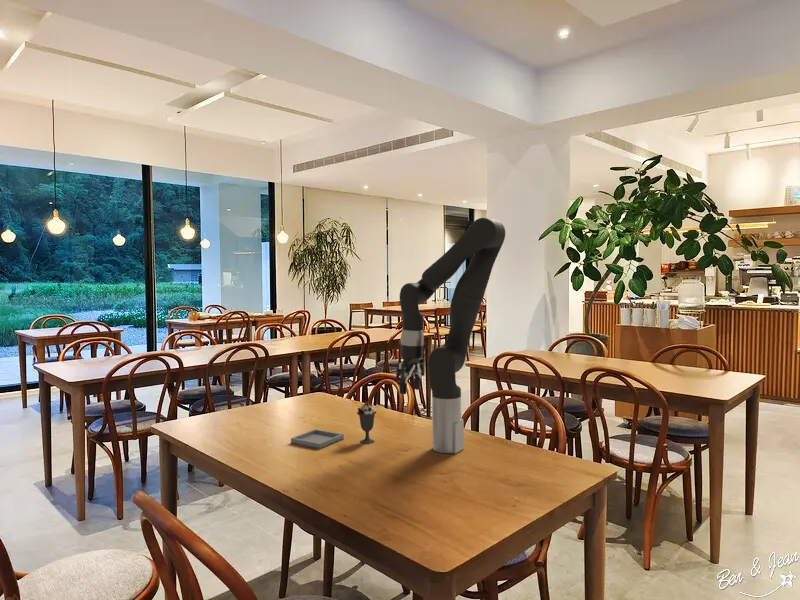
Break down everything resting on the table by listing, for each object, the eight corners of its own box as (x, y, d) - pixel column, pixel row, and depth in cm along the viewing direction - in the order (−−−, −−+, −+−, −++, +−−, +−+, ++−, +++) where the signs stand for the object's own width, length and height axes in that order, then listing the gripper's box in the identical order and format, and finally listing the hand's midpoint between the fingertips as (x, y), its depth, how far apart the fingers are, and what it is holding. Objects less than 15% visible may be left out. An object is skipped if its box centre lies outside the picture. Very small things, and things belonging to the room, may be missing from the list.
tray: (343, 439, 187) (343, 434, 187) (319, 449, 176) (319, 443, 176) (315, 434, 193) (315, 429, 193) (290, 443, 182) (290, 438, 182)
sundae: (378, 438, 187) (377, 395, 186) (375, 445, 180) (374, 400, 179) (359, 438, 187) (358, 395, 187) (355, 444, 180) (355, 399, 180)
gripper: (410, 346, 171) (408, 397, 173) (432, 342, 183) (430, 389, 185) (390, 344, 176) (388, 393, 177) (413, 339, 187) (411, 386, 189)
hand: (409, 391), depth 181 cm, fingers open, 8 cm apart
